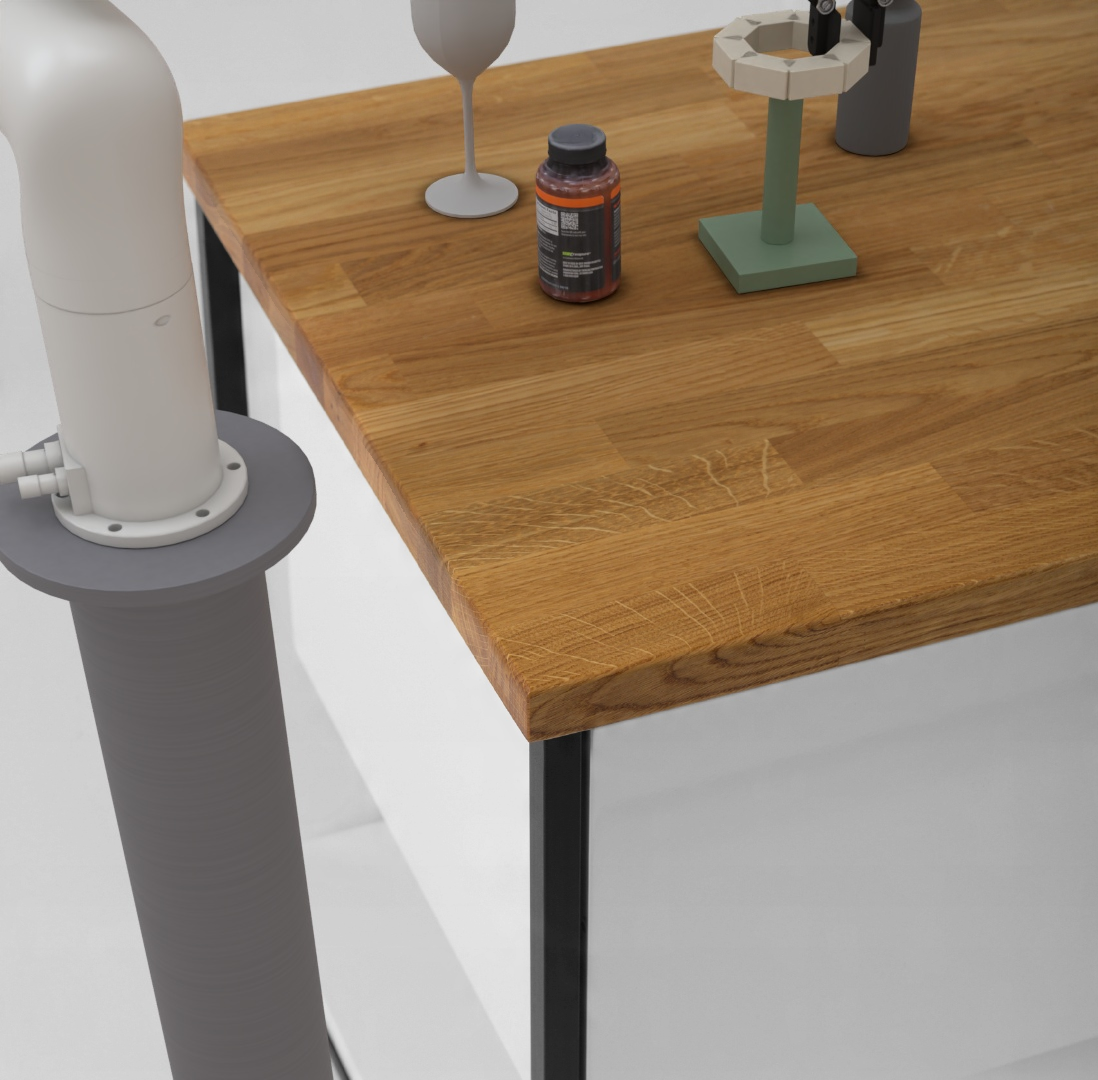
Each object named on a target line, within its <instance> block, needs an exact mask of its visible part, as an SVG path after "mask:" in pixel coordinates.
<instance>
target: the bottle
mask: <svg viewBox="0 0 1098 1080" xmlns="http://www.w3.org/2000/svg"><path fill="white" fill-rule="evenodd" d="M853 3H854V0H850V1H849V2H848V3H847V5H846V8H845V14H844V19H846V21H851V22H852V16H853ZM922 17H923V10H922V7H921V5H920V4H919V3H918V2H917V1H916V0H893V2H892V3H891V4H890V5H889V6H887V7H886V11H885V22H884V33H883V43H882V46H881V47H879V48H877V59H876V65H875V66H869V67H868V72H867V73H866V74H865V75H864V76H863V77H862V78H861V79H860V80H859V81H858V82H856V83H855V84H854V85H853V86H852V87H851V88H850V89H849V90H848V91H847V92H842V94H837V107H836V116H835V117H836V119H835V135H834V138H835V142H836V144H837V145H838V146H839V147H840V148H842V150H845V151H847V152H850V153H853V154H858V155H861V156H885V155H890V154H891V155H892V154H893V153H897V152H899V151H901V150H903V149H904V148H905V147H906V146H907V145H908V143H909V142H908V141H909V135H910V128H911V127H910V126H911V119H912V109H913V100H914V92H915V84H916V74H917V65H918V56H919V46H920V36H921V27H922Z"/></svg>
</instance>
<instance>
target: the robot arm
mask: <svg viewBox="0 0 1098 1080" xmlns="http://www.w3.org/2000/svg"><path fill="white" fill-rule="evenodd" d="M807 1H808V2H809V12H810V13H809V28H808V50H809V52H808V53H809V54H810V55H811V57H812V56H819V55H825V54H826V53H827V52H828V51H830V50H831V49H832V48H833V47H834V46H835V45H836V44H838V43H840V31H841V18H842V15H841V13H840V12H839V10H838V9H837V6H836V5H837V0H807ZM892 2H893V0H854V3H853V16H852V23H853V24H854V25H855V26H856V27H857V28H858V29H859V30H860V31H861V32H862V33H863V34H864V35H865V36H866V37H867V38H868V39H869V40H870V41H871V45H870V56H869V66H875V65H876V59H877V48H879V47H881V46H882V43H883V33H884V22H885V11H886V7H887V6H889V5H890V4H891V3H892ZM150 38H151V37H149V36H148V35H147V34H146V33H145V32H144V31H143V29H141V27H140V26H139V25H137V24H136V23H135V22H134V21H133V20H132V19H131V18H130V17H129V16H127V14H125V13H124V12H123V11H122V10H121V9H120V8H118V7H117V6H116V5H115V4H114V3H113V2H112V1H110V0H0V132H1V133H2V134H3V136H4V137H5V138H6V139H7V142H8V143H9V145H10V148H11V150H12V152H13V155H14V158H15V159H14V160H15V163H16V167H17V172H18V181H19V196H20V198H19V200H20V203H19V204H20V205H19V207H20V223H21V231H22V232H21V234H22V240H23V244H24V252H25V257H26V264H27V267H28V272H29V278H30V282H31V287H32V290H33V295H34V299H35V303H36V308H37V313H38V318H39V324H40V328H41V334H42V338H43V342H44V348H45V352H46V358H47V363H48V368H49V372H50V377H51V382H52V386H53V391H54V397H55V401H56V407H57V410H58V411H57V412H58V416H59V420H60V421H59V422H60V423H59V424H57V425H56V431H57V432H58V436H59V440H58V441H55V442H49V443H44V447H45V449H39V450H33V451H27V452H25V451H22V450H20V451H14V452H6V453H2V454H0V485H6V484H12V483H18V484H19V489H20V494H21V498H22V499H27V498H34V497H40V496H42V495H46V494H51V499H52V503H53V507H54V511H55V515H56V516H57V518H58V519H59V521H60V522H61V524H62V525H63V526H64V527H65V528H67V529H68V530H69V531H70V532H71V533H73V534H75V535H77V536H79V537H81V538H83V539H85V540H88V541H91V542H94V543H97V544H100V545H105V546H111V547H116V548H132V549H140V548H155V547H161V546H167V545H173V544H177V543H180V542H184V541H187V540H191V539H194V538H196V537H198V536H201V535H203V534H206V533H208V532H210V531H211V530H213V529H215V528H217V527H218V526H220V525H222V524H223V523H224V522H225V521H227V520H228V519H229V518H230V517H232V516H233V515H234V514H235V513H236V511H237V510H238V509H239V508H240V507H241V505H242V504H243V502H244V500H245V498H246V496H247V493H248V485H249V482H248V475H247V468H246V465H245V463H244V460H243V458H242V457H241V456H240V454H239V453H238V452H237V451H236V450H235V449H234V448H232V447H231V446H230V445H228V444H227V443H226V442H224V441H222V440H219V439H218V436H217V429H216V422H215V415H214V402H213V396H212V389H211V382H210V373H209V369H208V362H207V354H206V348H205V347H206V346H205V341H204V335H203V327H202V319H201V314H200V305H199V300H198V293H197V287H196V286H197V285H196V280H195V273H194V266H193V261H192V254H191V253H192V252H191V247H190V241H189V239H190V238H189V232H188V226H187V217H186V207H185V195H184V193H185V192H184V172H183V171H184V116H183V107H182V101H181V97H180V93H179V89H178V86H177V83H176V81H175V77H174V75H173V73H172V71H171V69H170V66H169V65H168V63H167V61H166V59H165V57H164V56H163V55H162V53H161V52H160V51H159V49H158V47H157V46H156V45H155V43H154V42H153V41H152V39H150Z"/></svg>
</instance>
